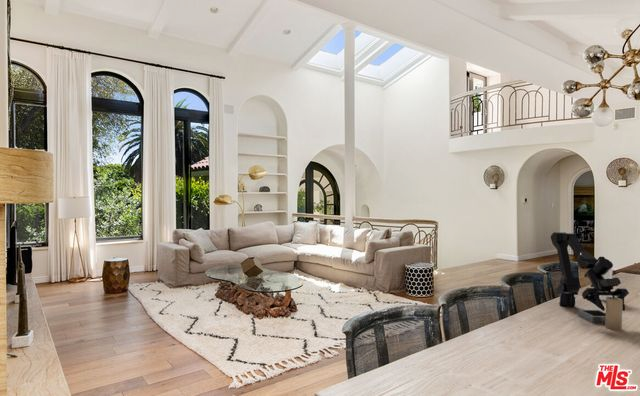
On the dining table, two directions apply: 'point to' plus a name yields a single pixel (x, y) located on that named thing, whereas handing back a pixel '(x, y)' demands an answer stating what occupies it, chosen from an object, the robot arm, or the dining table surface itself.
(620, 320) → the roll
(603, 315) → the tray
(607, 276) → the milk
